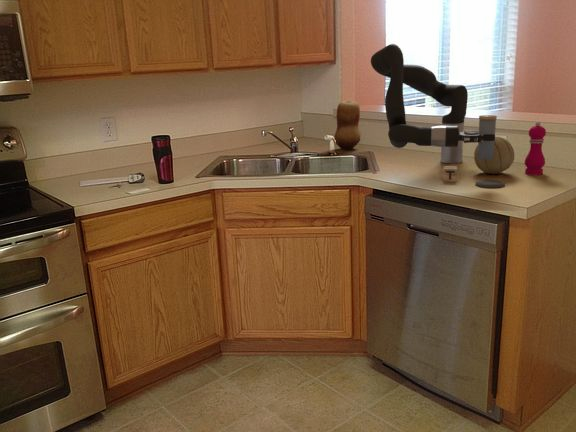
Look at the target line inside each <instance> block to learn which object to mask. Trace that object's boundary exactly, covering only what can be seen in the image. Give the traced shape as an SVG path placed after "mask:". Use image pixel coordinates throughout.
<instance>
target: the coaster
mask: <svg viewBox="0 0 576 432" xmlns="http://www.w3.org/2000/svg"><path fill="white" fill-rule="evenodd" d="M505 185H506V183H505V182H504V181H500V180H491V179H490V180H487V179H486V180H483V179H482V180H478V181H475V186H476V187H479V188H483V189H501V188H504V187H505Z"/></svg>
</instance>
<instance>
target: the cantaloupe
mask: <svg viewBox="0 0 576 432" xmlns="http://www.w3.org/2000/svg"><path fill="white" fill-rule="evenodd" d="M477 154H478V144H477V145H476V147H475V148H474V154H473V156H474V157H473V158H474V159H473V160H474V162H475V165H476V167H477V168H478V169H479V170H480V171H481V172H483V173H485V174H491V175H499V174H500V173H502V172H504V171H506V170H508V169H509V168H511V166H513V163H514V161H515V150H514V148H513V145H512V144H511V143H510V141H509V140H508V139H505V138H504V137H501V136H495V145H494V158H493V159H479V158H477Z"/></svg>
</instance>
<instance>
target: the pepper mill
mask: <svg viewBox="0 0 576 432" xmlns="http://www.w3.org/2000/svg"><path fill="white" fill-rule="evenodd" d="M546 135H547V130H546V128H545V127H544V126H542V125H541V121H536V122H535V125H533V126H532V127H530V129H529V130H528V136H529V137H530V138H529V143H530V149H529V151H528V153H527V155H526V156H525V159H524V165H525V166H526V168H525V170H524V171H525V172H524V174H525V175H528V176H541V175H543V174H544V169H543V167H544V166H545V165H546V159H545V156H544V153H543V151H542V147H543V144H544V139H545V137H546Z"/></svg>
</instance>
